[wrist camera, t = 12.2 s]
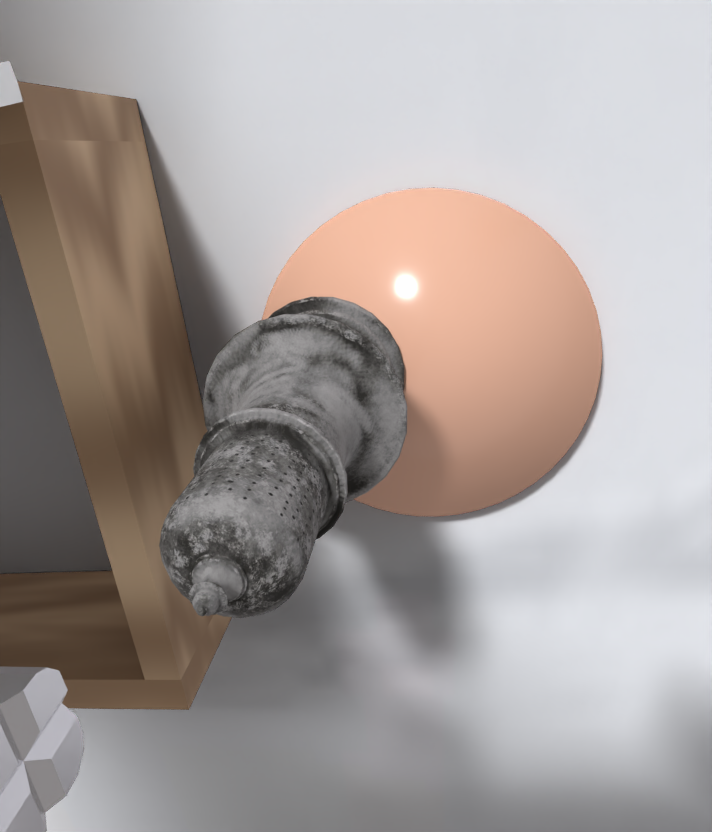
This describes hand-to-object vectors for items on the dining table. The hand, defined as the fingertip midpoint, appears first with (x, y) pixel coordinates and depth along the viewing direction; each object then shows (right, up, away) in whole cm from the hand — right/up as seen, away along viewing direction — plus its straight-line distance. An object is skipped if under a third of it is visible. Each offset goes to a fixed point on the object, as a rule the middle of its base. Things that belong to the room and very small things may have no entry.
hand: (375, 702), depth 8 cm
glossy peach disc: (+2, +5, +14) cm, 15 cm away
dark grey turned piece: (-1, +5, +14) cm, 15 cm away
